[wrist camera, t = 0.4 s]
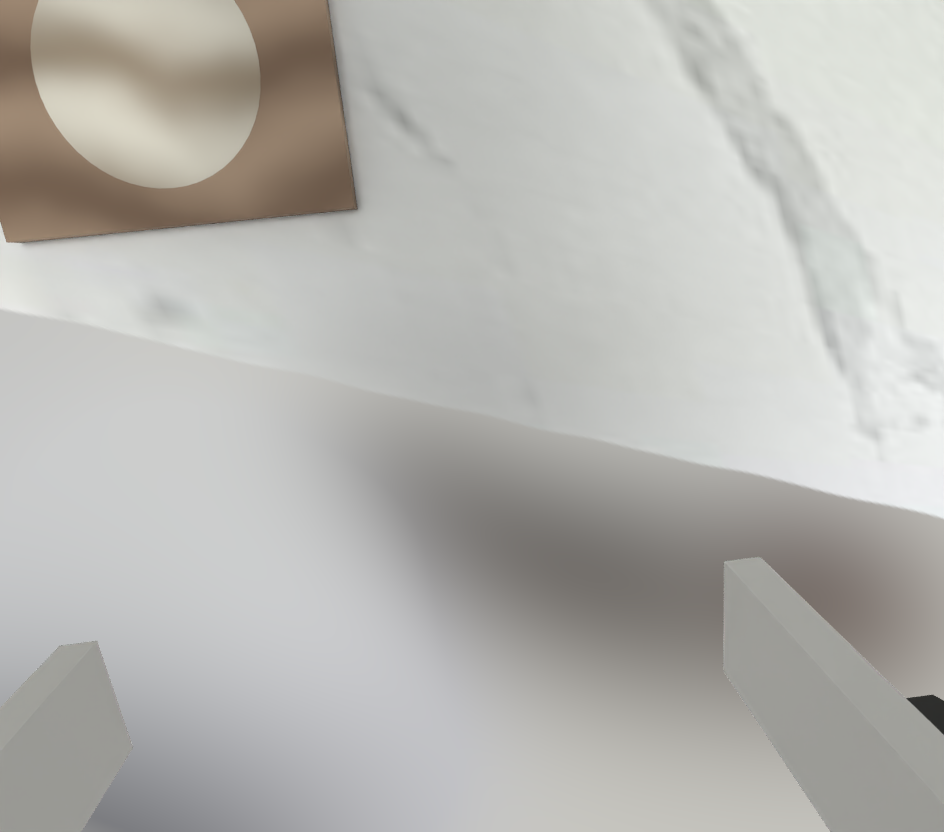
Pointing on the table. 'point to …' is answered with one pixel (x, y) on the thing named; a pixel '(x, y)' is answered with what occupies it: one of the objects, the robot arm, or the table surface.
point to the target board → (167, 115)
